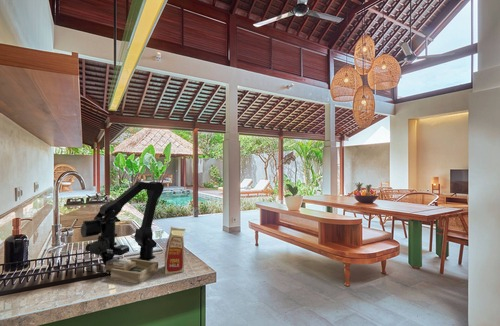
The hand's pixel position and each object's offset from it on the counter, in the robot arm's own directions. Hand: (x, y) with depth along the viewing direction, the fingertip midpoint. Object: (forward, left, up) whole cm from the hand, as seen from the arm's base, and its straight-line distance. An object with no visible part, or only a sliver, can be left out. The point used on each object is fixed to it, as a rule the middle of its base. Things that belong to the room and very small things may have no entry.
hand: (106, 267), depth 118 cm
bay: (0, +14, -2) cm, 14 cm away
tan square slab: (0, +7, -2) cm, 7 cm away
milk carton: (-11, +28, -2) cm, 30 cm away
